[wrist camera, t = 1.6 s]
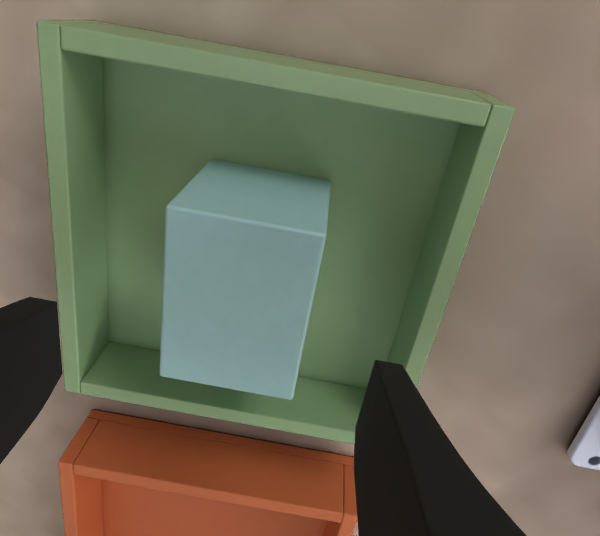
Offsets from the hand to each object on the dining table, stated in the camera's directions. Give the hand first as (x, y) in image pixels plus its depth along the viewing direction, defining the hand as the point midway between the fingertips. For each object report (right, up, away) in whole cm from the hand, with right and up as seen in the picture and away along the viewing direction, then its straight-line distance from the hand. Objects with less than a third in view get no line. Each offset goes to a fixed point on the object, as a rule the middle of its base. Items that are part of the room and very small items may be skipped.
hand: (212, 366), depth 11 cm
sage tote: (+1, +3, +7) cm, 7 cm away
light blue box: (+1, +3, +6) cm, 7 cm away
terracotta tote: (-2, -11, +14) cm, 18 cm away
